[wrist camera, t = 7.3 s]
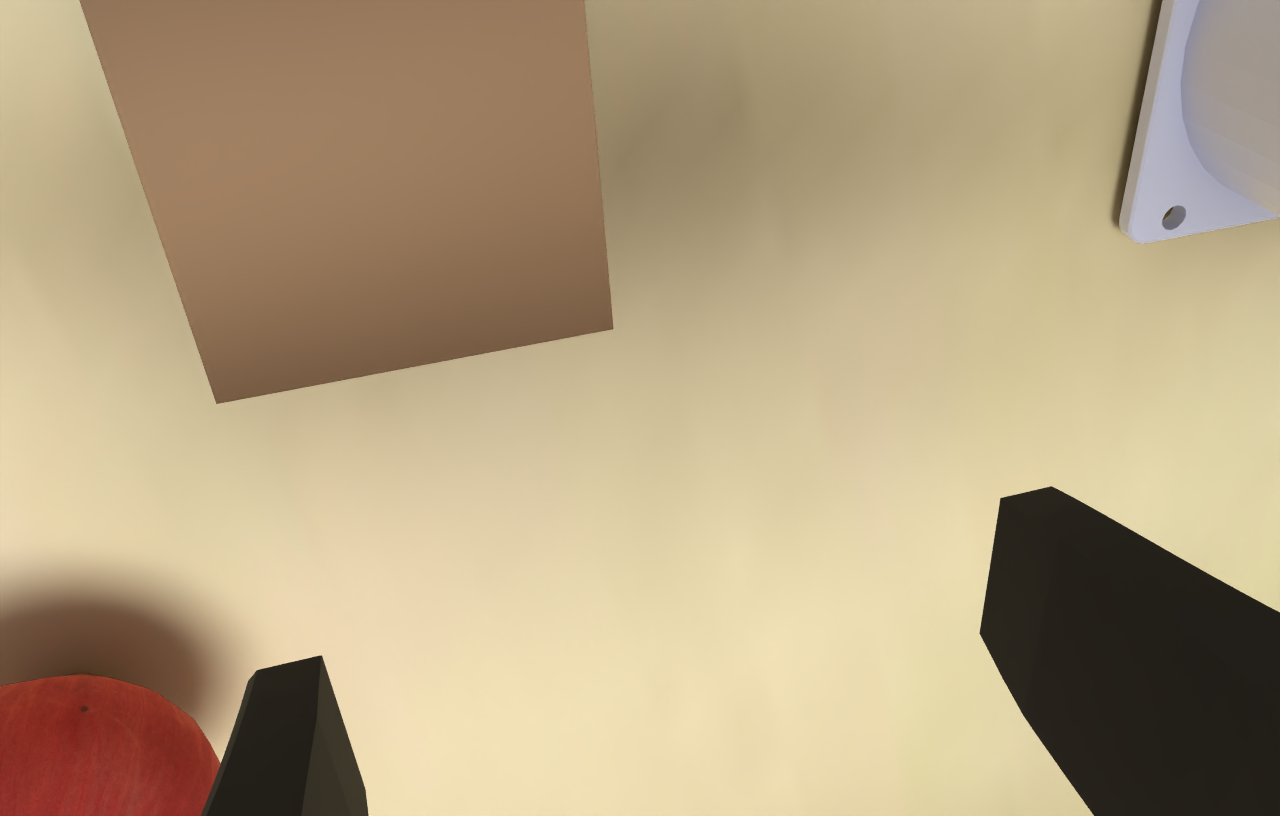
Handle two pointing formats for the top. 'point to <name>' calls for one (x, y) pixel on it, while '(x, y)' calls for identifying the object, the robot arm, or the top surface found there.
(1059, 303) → the top surface
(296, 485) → the top surface
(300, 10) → the wooden block
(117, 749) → the onion
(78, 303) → the top surface
